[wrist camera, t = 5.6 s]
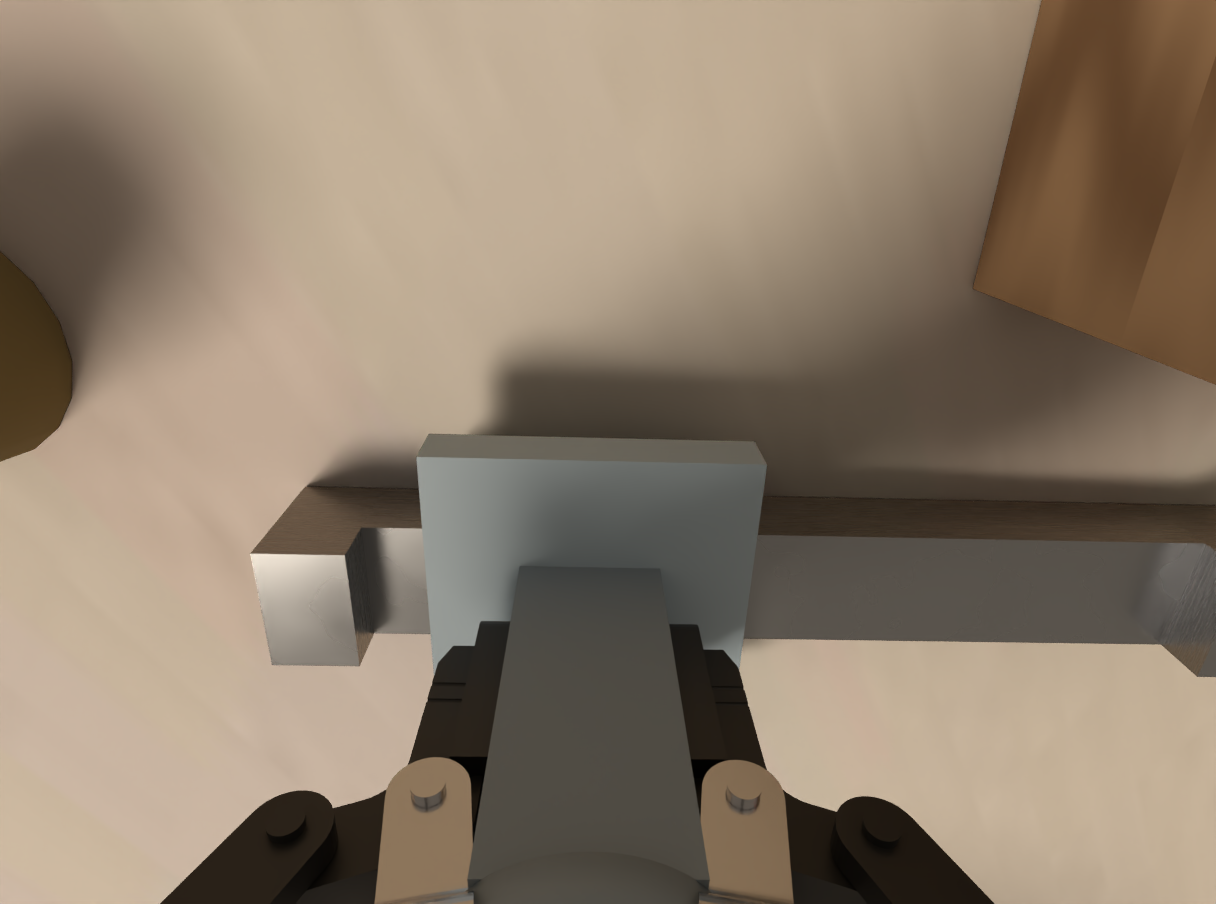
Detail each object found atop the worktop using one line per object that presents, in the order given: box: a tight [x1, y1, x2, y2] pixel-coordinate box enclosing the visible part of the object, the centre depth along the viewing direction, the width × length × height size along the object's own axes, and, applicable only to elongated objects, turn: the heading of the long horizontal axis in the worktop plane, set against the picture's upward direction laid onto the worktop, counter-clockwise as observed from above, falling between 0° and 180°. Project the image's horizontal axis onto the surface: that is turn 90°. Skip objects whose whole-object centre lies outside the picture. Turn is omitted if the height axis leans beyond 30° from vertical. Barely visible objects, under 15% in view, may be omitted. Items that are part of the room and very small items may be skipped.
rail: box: [250, 487, 1216, 677], centre depth 18 cm, size 3×24×3 cm, turn 88°
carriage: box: [416, 434, 767, 904], centre depth 14 cm, size 8×7×11 cm
